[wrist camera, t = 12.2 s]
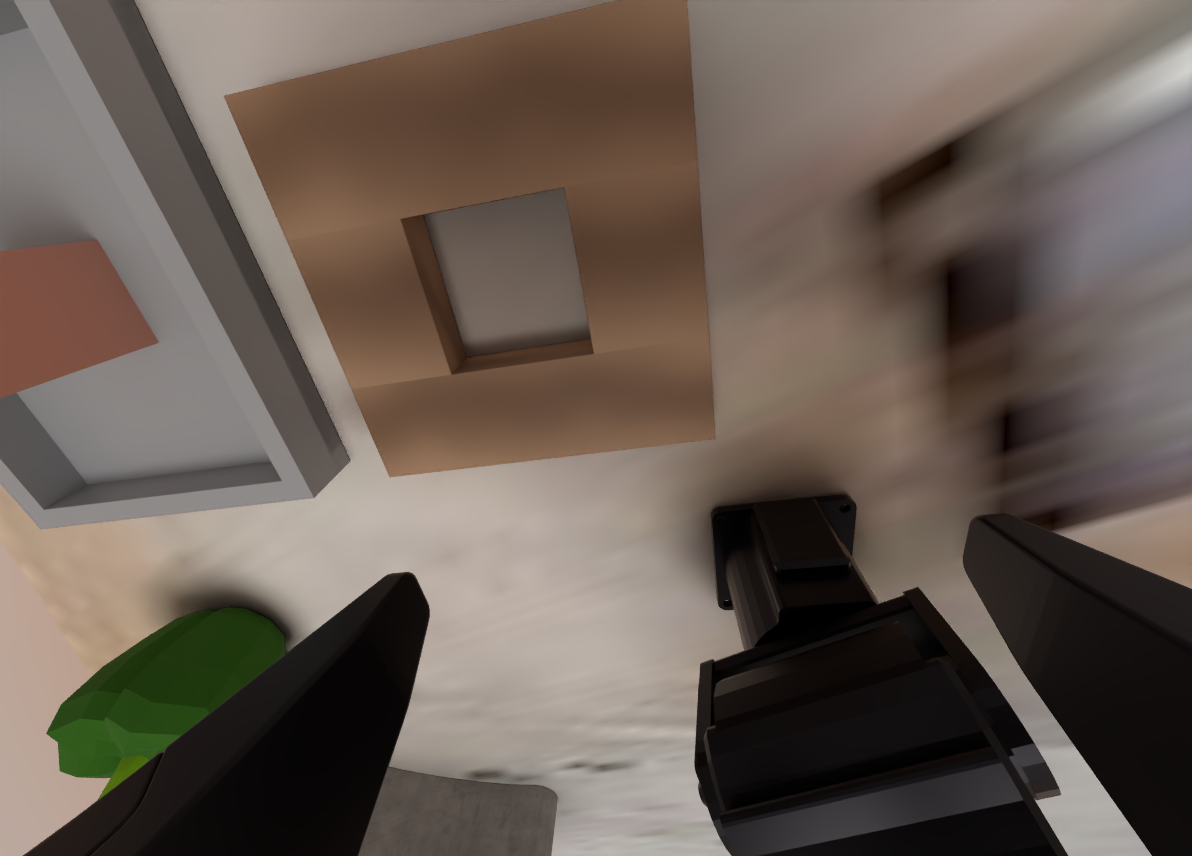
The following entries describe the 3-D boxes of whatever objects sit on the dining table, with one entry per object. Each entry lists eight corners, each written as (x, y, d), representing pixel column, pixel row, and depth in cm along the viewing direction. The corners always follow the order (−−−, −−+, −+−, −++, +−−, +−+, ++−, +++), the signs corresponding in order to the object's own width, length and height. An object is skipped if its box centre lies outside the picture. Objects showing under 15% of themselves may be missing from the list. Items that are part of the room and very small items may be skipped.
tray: (350, 461, 23) (314, 497, 20) (103, 491, 25) (40, 529, 22) (121, -26, 15) (12, -70, 12) (-220, 72, 17) (-378, 53, 14)
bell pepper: (172, 566, 27) (-48, 753, 18) (317, 610, 28) (175, 808, 19) (176, 654, 31) (-6, 845, 22) (303, 691, 32) (179, 887, 23)
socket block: (708, 416, 21) (715, 438, 19) (408, 453, 23) (389, 477, 21) (678, 7, 15) (685, -16, 13) (267, 104, 16) (224, 96, 15)
